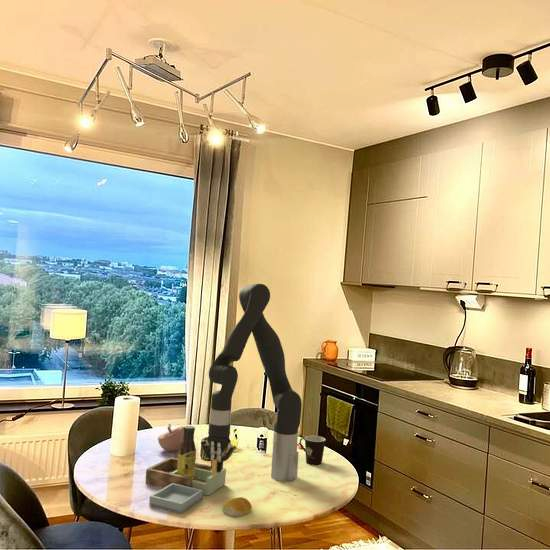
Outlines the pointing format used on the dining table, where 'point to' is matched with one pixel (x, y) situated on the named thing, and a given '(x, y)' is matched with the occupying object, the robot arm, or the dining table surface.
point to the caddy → (208, 478)
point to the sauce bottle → (187, 454)
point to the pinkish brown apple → (171, 439)
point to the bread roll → (237, 507)
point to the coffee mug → (314, 449)
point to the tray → (176, 498)
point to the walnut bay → (169, 474)
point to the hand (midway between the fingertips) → (216, 471)
